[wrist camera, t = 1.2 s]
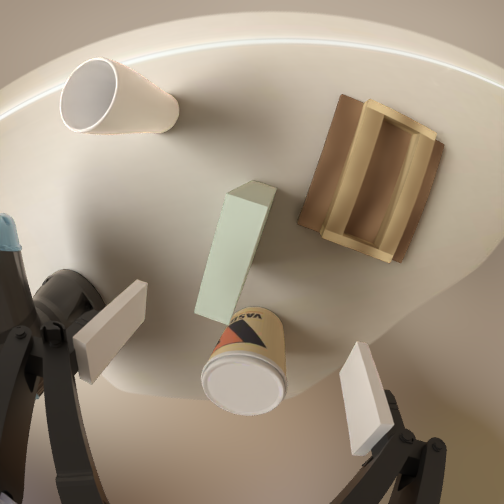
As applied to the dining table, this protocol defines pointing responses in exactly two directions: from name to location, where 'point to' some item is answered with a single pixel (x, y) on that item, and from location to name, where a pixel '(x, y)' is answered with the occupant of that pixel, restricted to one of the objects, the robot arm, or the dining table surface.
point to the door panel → (233, 249)
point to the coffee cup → (248, 364)
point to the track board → (372, 179)
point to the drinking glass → (115, 101)
